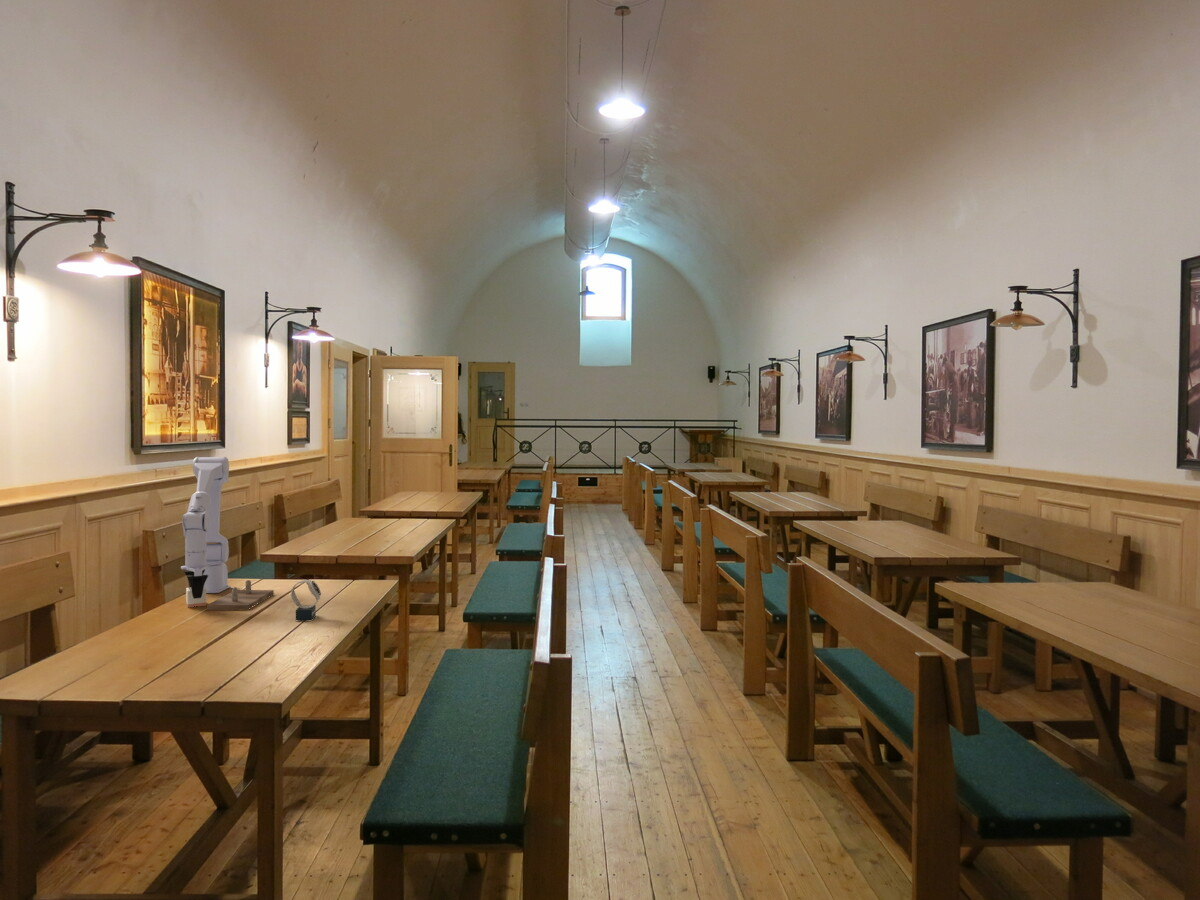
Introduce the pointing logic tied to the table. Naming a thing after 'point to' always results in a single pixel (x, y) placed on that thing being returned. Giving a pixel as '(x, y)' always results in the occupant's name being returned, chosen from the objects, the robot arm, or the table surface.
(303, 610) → the watch
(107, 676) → the table surface
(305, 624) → the table surface
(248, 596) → the pin board
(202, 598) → the sleeve
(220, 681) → the table surface
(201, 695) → the table surface
